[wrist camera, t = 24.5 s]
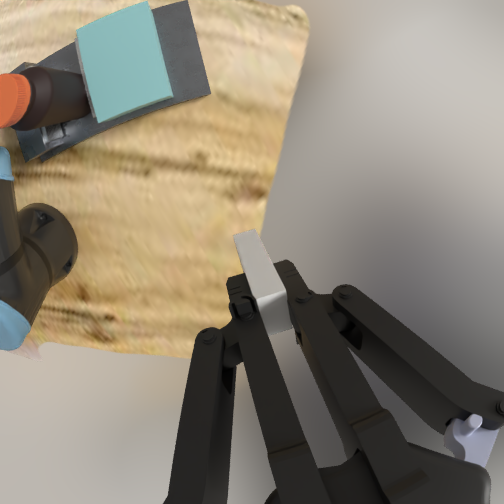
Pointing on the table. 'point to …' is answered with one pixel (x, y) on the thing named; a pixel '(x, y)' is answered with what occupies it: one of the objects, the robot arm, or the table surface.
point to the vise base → (183, 88)
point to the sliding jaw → (122, 63)
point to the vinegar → (41, 98)
